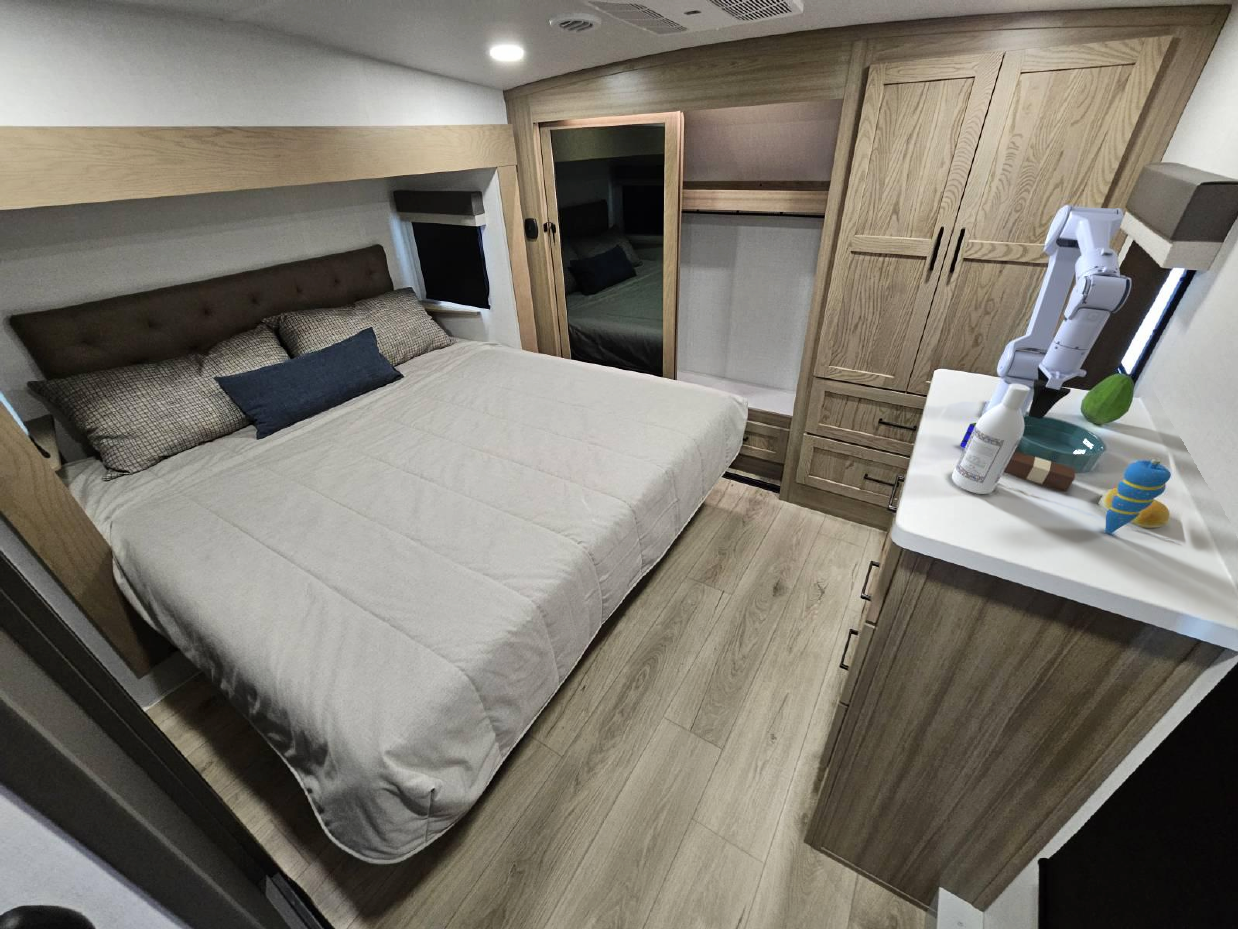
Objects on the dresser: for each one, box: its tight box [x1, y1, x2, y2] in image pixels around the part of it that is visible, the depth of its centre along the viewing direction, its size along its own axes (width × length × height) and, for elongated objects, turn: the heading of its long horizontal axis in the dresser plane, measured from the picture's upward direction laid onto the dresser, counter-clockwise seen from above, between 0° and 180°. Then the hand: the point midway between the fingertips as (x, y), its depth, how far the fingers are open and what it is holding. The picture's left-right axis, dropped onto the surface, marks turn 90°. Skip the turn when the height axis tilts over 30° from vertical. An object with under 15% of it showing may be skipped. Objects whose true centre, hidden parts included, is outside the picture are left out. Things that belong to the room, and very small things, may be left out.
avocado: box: [1079, 372, 1135, 425], centre depth 115 cm, size 8×8×12 cm
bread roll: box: [1098, 486, 1171, 529], centre depth 89 cm, size 8×9×4 cm
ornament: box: [1104, 455, 1172, 535], centre depth 81 cm, size 5×5×15 cm
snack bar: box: [1003, 451, 1076, 493], centre depth 97 cm, size 10×4×3 cm, turn 52°
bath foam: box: [951, 383, 1030, 495], centre depth 91 cm, size 7×7×20 cm
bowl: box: [1015, 414, 1107, 474], centre depth 105 cm, size 16×16×4 cm
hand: (1036, 410), depth 102 cm, fingers open, 7 cm apart
